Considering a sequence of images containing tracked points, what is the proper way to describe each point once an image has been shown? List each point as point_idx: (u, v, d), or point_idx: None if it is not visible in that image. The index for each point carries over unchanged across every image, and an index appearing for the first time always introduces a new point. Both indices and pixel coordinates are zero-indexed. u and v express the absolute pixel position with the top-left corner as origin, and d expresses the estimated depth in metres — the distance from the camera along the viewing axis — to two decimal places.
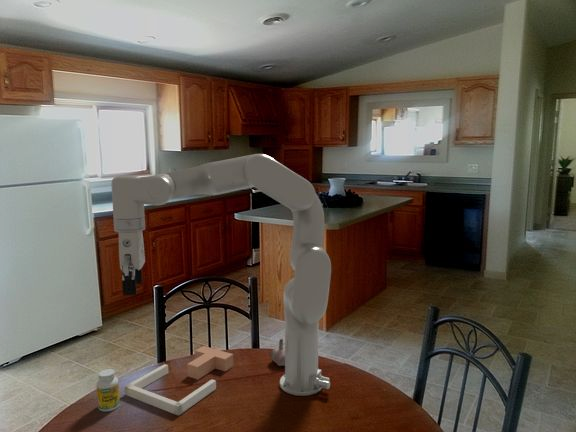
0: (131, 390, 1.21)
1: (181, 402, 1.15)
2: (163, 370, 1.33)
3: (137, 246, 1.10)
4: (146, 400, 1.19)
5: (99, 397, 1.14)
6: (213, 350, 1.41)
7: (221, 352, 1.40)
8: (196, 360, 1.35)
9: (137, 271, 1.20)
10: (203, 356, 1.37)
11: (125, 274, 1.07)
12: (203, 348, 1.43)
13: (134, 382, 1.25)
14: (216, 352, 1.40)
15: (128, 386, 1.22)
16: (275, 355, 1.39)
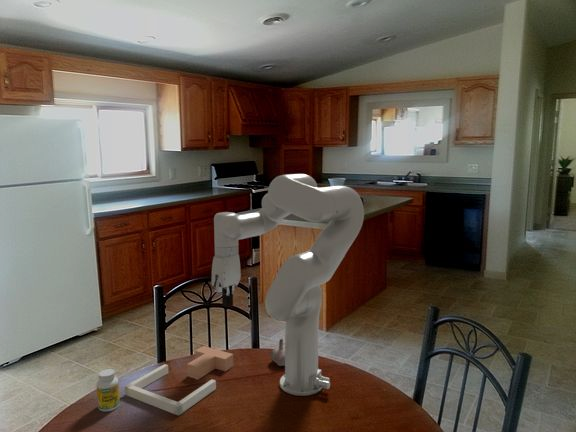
0: (131, 390, 1.21)
1: (181, 402, 1.15)
2: (163, 370, 1.33)
3: None
4: (146, 400, 1.19)
5: (99, 397, 1.14)
6: (213, 350, 1.41)
7: (221, 352, 1.40)
8: (196, 360, 1.35)
9: None
10: (203, 356, 1.37)
11: None
12: (203, 348, 1.43)
13: (134, 382, 1.25)
14: (216, 352, 1.40)
15: (128, 386, 1.22)
16: (275, 355, 1.39)
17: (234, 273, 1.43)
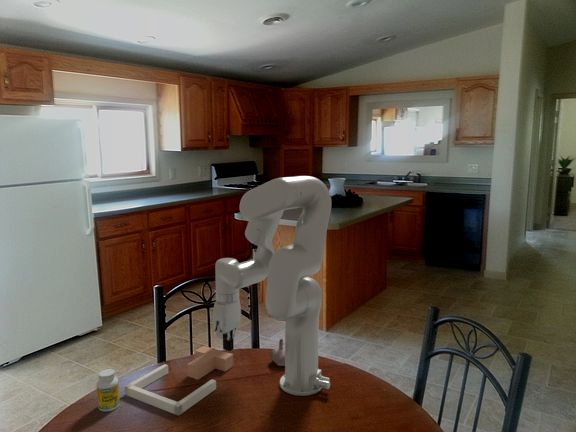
0: (131, 390, 1.21)
1: (181, 402, 1.15)
2: (163, 370, 1.33)
3: None
4: (146, 400, 1.19)
5: (99, 397, 1.14)
6: (213, 350, 1.41)
7: (221, 352, 1.40)
8: (196, 360, 1.35)
9: None
10: (203, 356, 1.37)
11: None
12: (203, 348, 1.43)
13: (134, 382, 1.25)
14: (216, 352, 1.40)
15: (128, 386, 1.22)
16: (275, 355, 1.39)
17: (235, 318, 1.45)
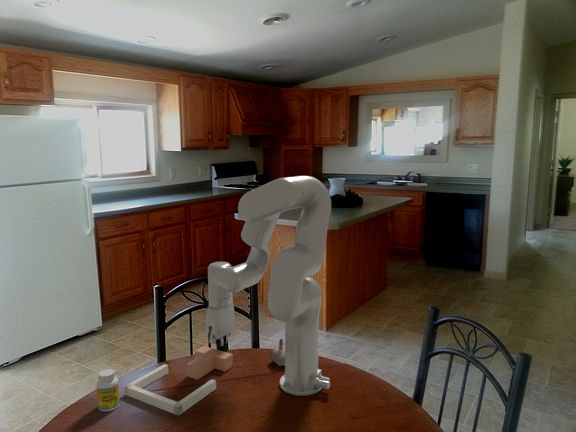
0: (131, 390, 1.21)
1: (181, 402, 1.15)
2: (163, 370, 1.33)
3: None
4: (146, 400, 1.19)
5: (99, 397, 1.14)
6: (213, 350, 1.41)
7: (221, 352, 1.40)
8: (196, 360, 1.34)
9: None
10: (203, 356, 1.37)
11: None
12: (203, 348, 1.43)
13: (134, 382, 1.25)
14: (216, 352, 1.40)
15: (128, 386, 1.22)
16: (275, 355, 1.39)
17: (228, 323, 1.42)
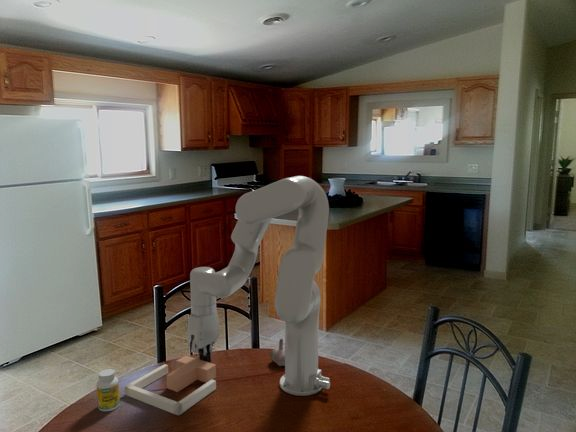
0: (131, 390, 1.21)
1: (181, 402, 1.15)
2: (163, 370, 1.33)
3: None
4: (146, 400, 1.19)
5: (99, 397, 1.14)
6: (195, 360, 1.35)
7: (203, 362, 1.33)
8: (176, 371, 1.28)
9: None
10: (184, 367, 1.30)
11: None
12: (185, 358, 1.36)
13: (134, 382, 1.25)
14: (198, 362, 1.33)
15: (128, 386, 1.22)
16: (275, 355, 1.39)
17: (212, 331, 1.35)
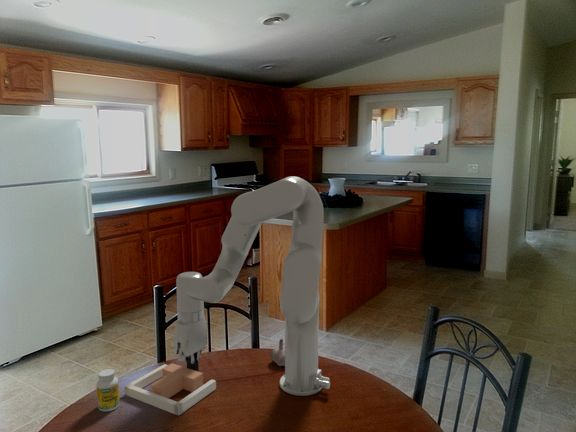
0: (131, 390, 1.21)
1: (181, 402, 1.15)
2: None
3: None
4: (146, 400, 1.19)
5: (99, 397, 1.14)
6: (182, 368, 1.29)
7: (190, 371, 1.28)
8: (161, 380, 1.23)
9: None
10: (170, 375, 1.25)
11: None
12: (171, 366, 1.31)
13: (134, 382, 1.25)
14: (185, 371, 1.28)
15: (128, 386, 1.22)
16: (275, 355, 1.39)
17: (199, 339, 1.30)
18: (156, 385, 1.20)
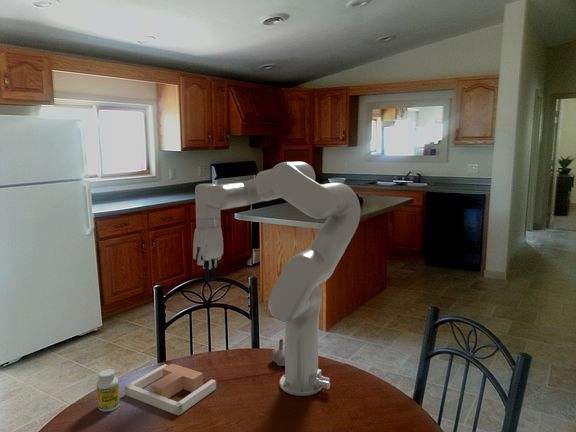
0: (131, 390, 1.21)
1: (181, 402, 1.15)
2: None
3: None
4: (146, 400, 1.19)
5: (99, 397, 1.14)
6: (182, 368, 1.29)
7: (190, 371, 1.28)
8: (161, 380, 1.23)
9: None
10: (170, 375, 1.25)
11: None
12: (171, 366, 1.31)
13: (134, 382, 1.25)
14: (185, 371, 1.28)
15: (128, 386, 1.22)
16: (275, 355, 1.39)
17: (216, 246, 1.39)
18: (156, 385, 1.20)
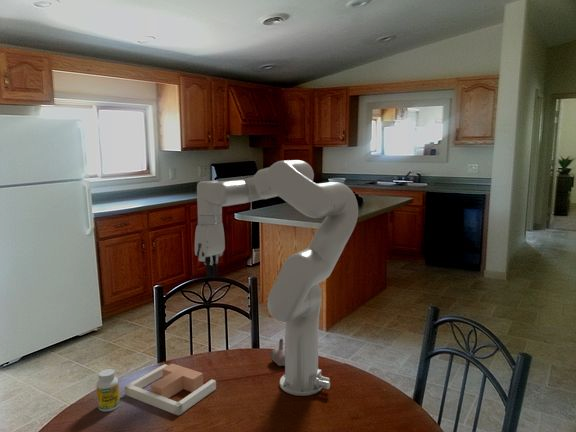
0: (131, 390, 1.21)
1: (181, 402, 1.15)
2: None
3: None
4: (146, 400, 1.19)
5: (99, 397, 1.14)
6: (182, 368, 1.29)
7: (190, 371, 1.28)
8: (161, 380, 1.23)
9: None
10: (170, 375, 1.25)
11: None
12: (171, 366, 1.31)
13: (134, 382, 1.25)
14: (185, 371, 1.28)
15: (128, 386, 1.22)
16: (275, 355, 1.39)
17: (218, 242, 1.41)
18: (156, 385, 1.20)
